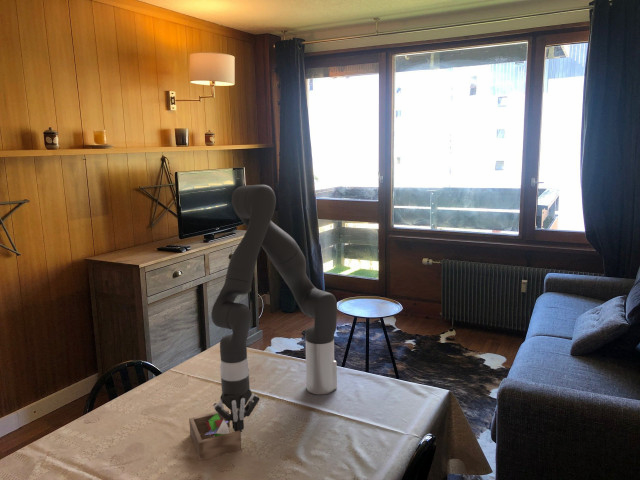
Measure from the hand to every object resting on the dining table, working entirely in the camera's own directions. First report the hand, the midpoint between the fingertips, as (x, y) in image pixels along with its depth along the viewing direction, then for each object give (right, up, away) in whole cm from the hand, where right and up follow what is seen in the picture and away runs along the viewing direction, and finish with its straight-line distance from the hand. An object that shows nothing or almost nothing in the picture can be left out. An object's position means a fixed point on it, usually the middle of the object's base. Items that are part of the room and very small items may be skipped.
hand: (238, 431), depth 143 cm
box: (-5, -2, -2) cm, 6 cm away
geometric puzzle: (-5, -2, -1) cm, 6 cm away
